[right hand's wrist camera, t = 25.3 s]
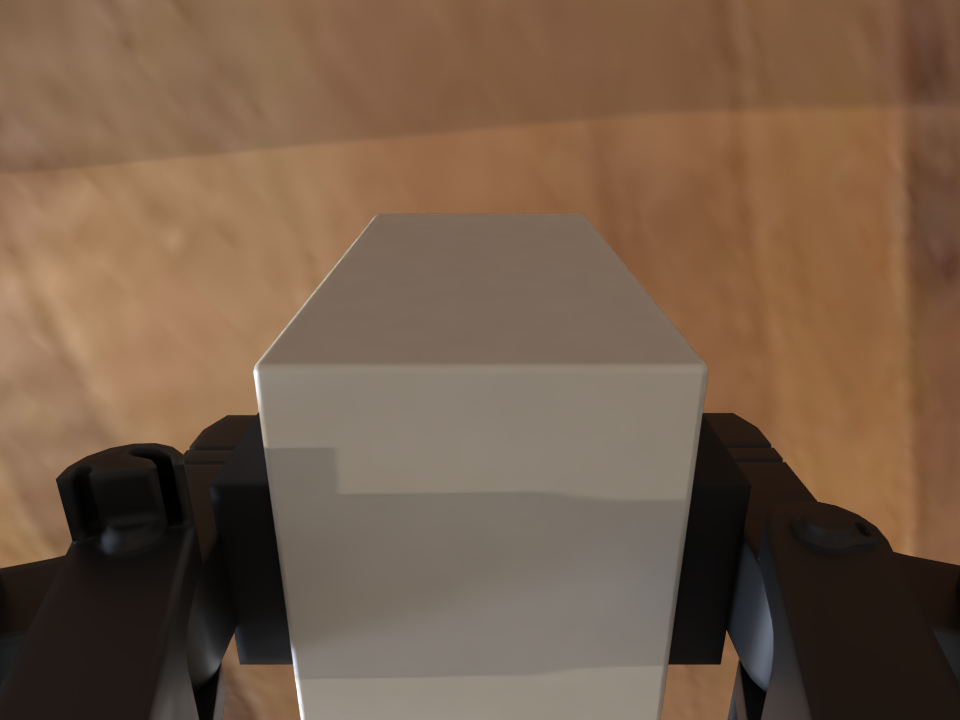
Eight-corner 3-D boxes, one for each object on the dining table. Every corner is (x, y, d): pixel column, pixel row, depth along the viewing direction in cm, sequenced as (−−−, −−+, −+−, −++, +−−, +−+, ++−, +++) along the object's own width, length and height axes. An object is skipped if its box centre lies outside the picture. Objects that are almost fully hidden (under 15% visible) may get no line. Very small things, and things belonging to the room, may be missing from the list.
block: (388, 447, 18) (305, 775, 9) (375, 212, 15) (249, 365, 7) (571, 447, 18) (655, 775, 9) (584, 212, 15) (712, 365, 7)
